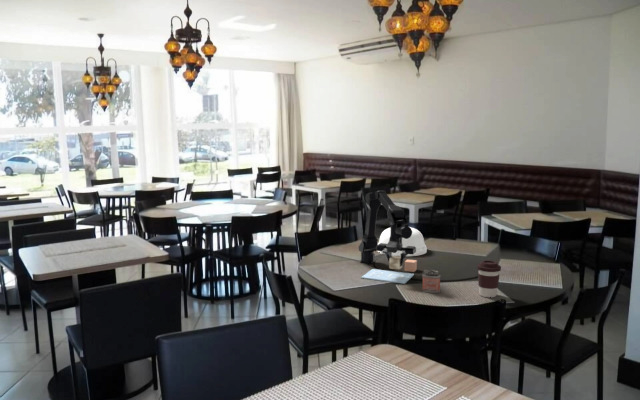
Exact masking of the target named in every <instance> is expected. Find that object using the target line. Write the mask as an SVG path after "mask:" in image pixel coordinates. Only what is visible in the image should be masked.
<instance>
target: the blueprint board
mask: <svg viewBox="0 0 640 400" xmlns="http://www.w3.org/2000/svg"><path fill="white" fill-rule="evenodd" d="M414 276H415V274H414V273H412V272H411V273H409V272H401V271H394V270H393V271H392V270H382V269H377V268H372V269H371V270H369V271H367V272H366V273H365V274H363V275H362V276H361V277H360V278H361V279H363V278H364V279H365V280H372V281H380V282H389V283H394V284H395V283H396V284H402V285H403V284H405V285H406V283H407V282H409V280H411V278H413V277H414Z"/></svg>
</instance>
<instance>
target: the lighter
mask: <svg viewBox="0 0 640 400" xmlns="http://www.w3.org/2000/svg"><path fill="white" fill-rule="evenodd" d="M421 275H422V288H421V291H422V292H423V293H432V294H433V293H436V294H440V293H441V277H442V276H441V275H440V274H439V271H438V270H434V269H431V270H430V269H424V270H423V273H422V274H421Z"/></svg>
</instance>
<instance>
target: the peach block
mask: <svg viewBox="0 0 640 400" xmlns="http://www.w3.org/2000/svg"><path fill="white" fill-rule="evenodd" d="M417 268H418V260H416V259H406V260H404V272H408V273H409V272H411V273H415V272H416V271H417Z"/></svg>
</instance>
